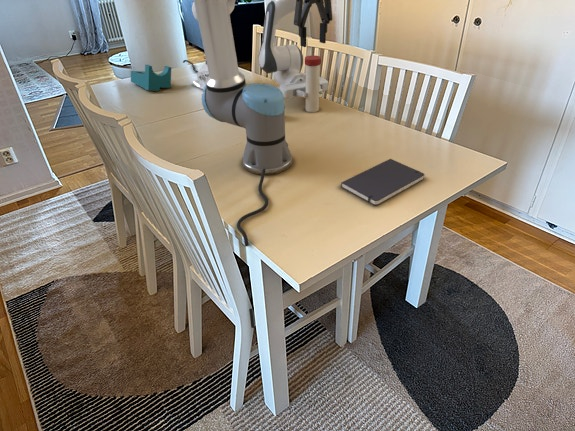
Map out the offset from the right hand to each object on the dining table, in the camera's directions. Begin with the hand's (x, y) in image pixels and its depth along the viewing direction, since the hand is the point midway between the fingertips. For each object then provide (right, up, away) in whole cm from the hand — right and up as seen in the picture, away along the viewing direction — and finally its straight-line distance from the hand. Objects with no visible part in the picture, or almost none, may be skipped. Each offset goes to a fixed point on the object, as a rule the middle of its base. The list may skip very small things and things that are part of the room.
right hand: (313, 44), depth 147 cm
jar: (+1, -20, +14) cm, 25 cm away
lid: (0, -4, +3) cm, 5 cm away
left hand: (+1, -15, +10) cm, 18 cm away
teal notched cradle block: (-73, -1, +44) cm, 85 cm away
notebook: (+18, -53, -33) cm, 65 cm away
